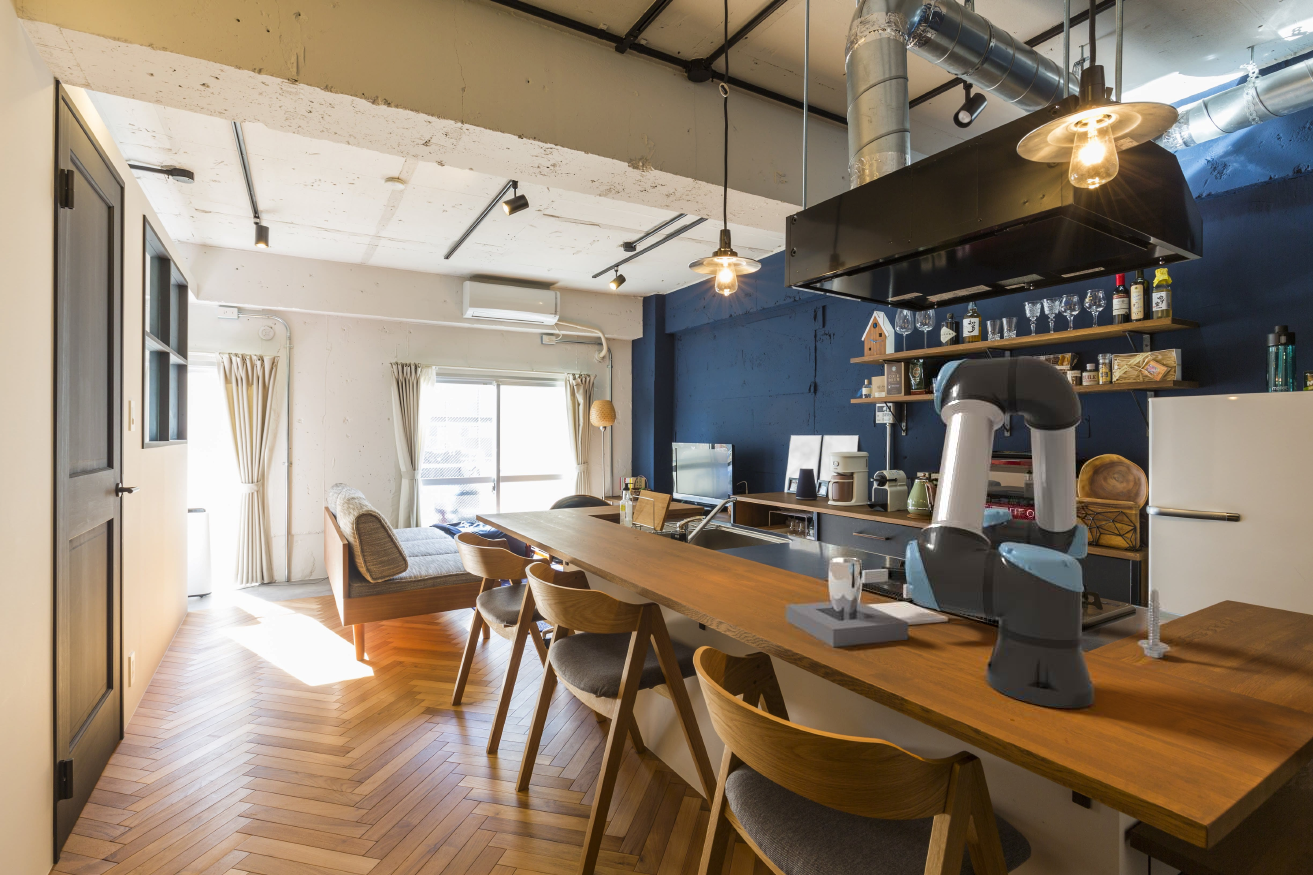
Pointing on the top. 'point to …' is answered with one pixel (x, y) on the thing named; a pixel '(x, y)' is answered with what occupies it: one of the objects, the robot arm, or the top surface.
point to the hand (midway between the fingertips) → (882, 583)
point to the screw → (1154, 630)
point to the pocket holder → (846, 624)
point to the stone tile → (910, 613)
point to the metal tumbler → (845, 587)
